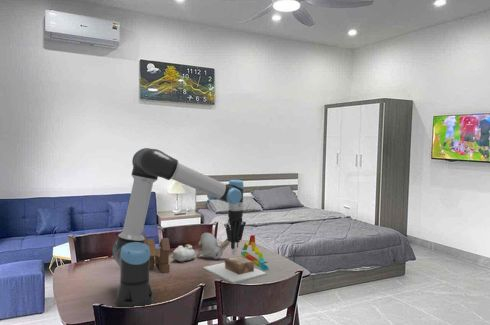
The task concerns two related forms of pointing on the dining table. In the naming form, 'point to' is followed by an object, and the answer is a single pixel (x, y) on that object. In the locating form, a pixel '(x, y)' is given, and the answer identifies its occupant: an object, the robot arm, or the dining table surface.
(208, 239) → the toy
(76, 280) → the dining table surface
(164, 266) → the building blocks
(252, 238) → the multicoloured triangular frame
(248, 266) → the slab
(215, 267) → the mat
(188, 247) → the cat figurine
